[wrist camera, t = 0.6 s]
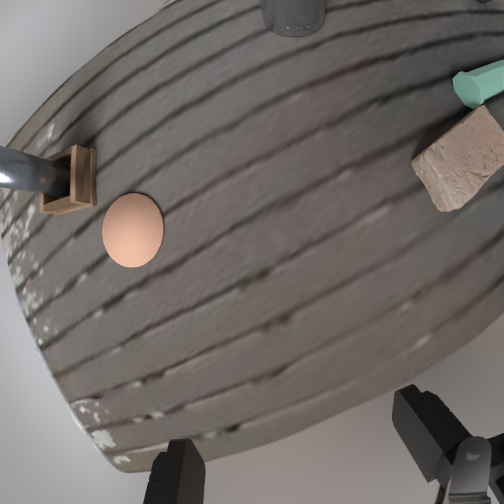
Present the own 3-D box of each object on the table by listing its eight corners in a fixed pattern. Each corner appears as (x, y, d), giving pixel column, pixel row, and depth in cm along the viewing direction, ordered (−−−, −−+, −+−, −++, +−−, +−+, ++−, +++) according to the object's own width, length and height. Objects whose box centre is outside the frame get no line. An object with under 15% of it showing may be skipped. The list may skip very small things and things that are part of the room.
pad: (102, 201, 37) (100, 200, 37) (161, 187, 36) (159, 186, 35) (107, 270, 37) (106, 270, 37) (168, 263, 36) (166, 263, 35)
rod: (61, 172, 37) (-14, 152, 21) (82, 164, 36) (3, 139, 20) (61, 200, 37) (-18, 189, 21) (81, 194, 36) (-2, 178, 21)
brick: (441, 216, 31) (459, 213, 26) (406, 162, 31) (420, 152, 27) (499, 158, 29) (516, 151, 24) (469, 112, 29) (484, 101, 25)
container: (528, 51, 20) (472, 70, 23) (539, 80, 22) (487, 109, 25) (508, 53, 25) (446, 74, 28) (519, 80, 27) (461, 109, 30)
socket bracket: (58, 164, 38) (40, 159, 34) (96, 149, 37) (78, 141, 32) (57, 216, 38) (38, 214, 34) (96, 205, 37) (76, 202, 33)
